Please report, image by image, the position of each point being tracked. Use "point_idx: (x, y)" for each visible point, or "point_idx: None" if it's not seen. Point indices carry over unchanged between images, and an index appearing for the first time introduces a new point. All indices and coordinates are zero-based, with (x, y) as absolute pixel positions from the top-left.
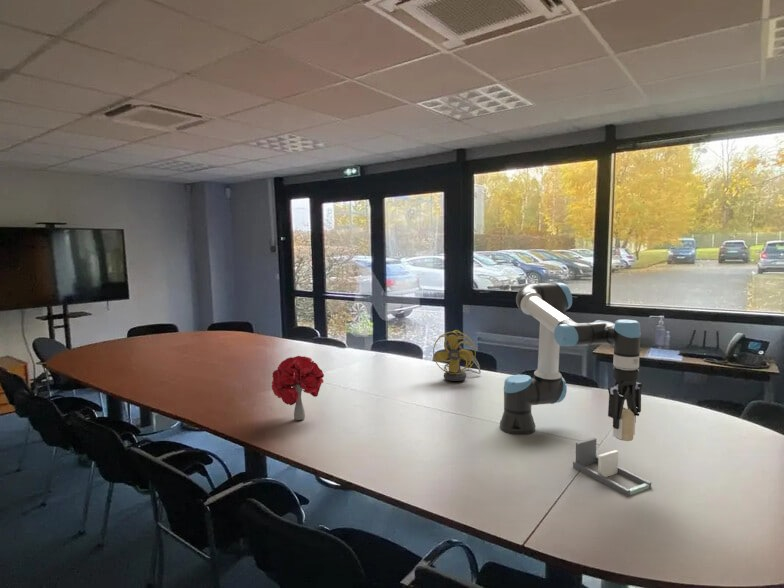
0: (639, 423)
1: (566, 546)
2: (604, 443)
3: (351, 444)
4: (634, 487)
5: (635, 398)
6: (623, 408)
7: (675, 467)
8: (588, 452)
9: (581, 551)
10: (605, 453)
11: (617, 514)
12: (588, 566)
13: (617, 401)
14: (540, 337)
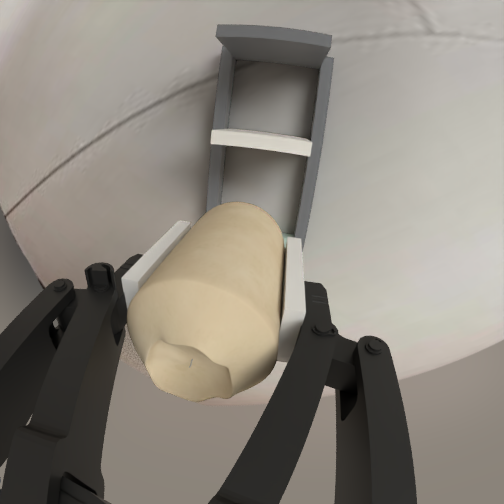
0: None
1: (35, 249)
2: (448, 43)
3: None
4: None
5: (350, 474)
6: (209, 354)
7: (450, 236)
8: (281, 53)
9: (45, 266)
10: (248, 136)
11: (135, 252)
12: (42, 283)
13: (22, 422)
14: None
